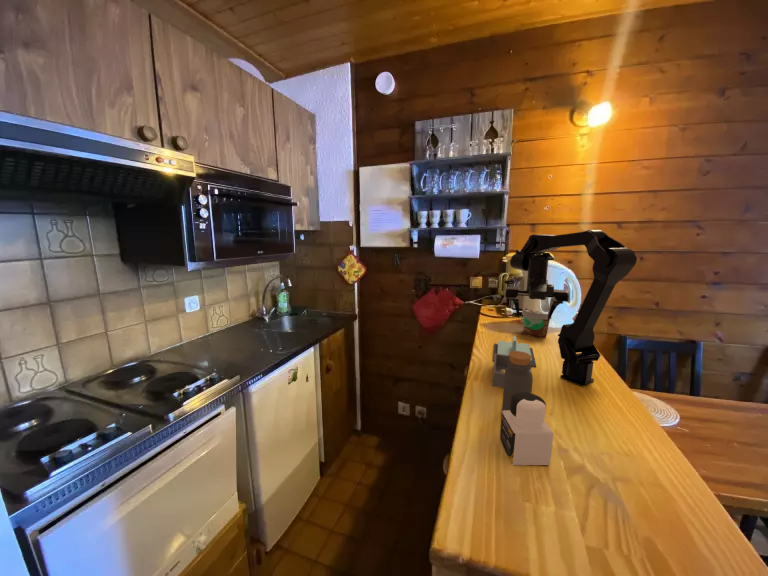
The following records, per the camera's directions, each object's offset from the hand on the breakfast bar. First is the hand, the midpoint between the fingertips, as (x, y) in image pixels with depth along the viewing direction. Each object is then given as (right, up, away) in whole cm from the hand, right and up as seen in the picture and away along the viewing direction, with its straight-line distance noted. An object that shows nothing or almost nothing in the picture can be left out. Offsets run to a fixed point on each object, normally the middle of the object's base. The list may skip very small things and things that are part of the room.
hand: (533, 318), depth 106 cm
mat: (-6, -13, +2) cm, 14 cm away
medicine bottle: (-23, -22, -44) cm, 55 cm away
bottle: (-19, -20, -31) cm, 42 cm away
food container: (+10, -9, +22) cm, 26 cm away
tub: (-13, -16, -14) cm, 25 cm away
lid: (-6, -12, +2) cm, 14 cm away
